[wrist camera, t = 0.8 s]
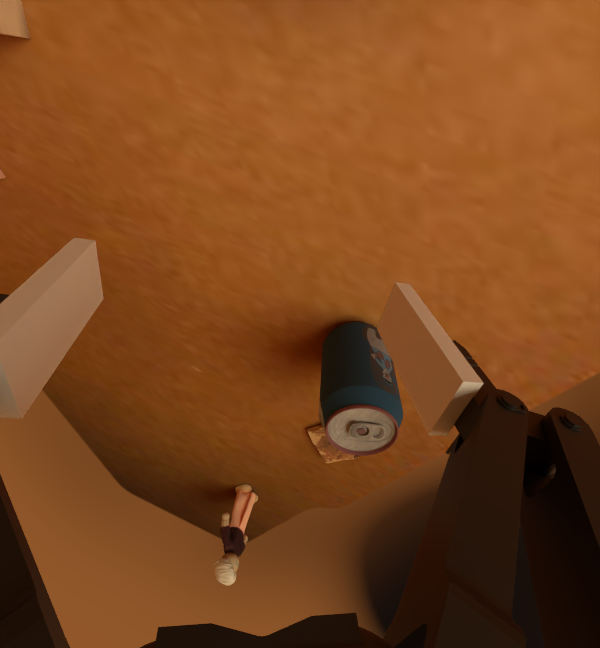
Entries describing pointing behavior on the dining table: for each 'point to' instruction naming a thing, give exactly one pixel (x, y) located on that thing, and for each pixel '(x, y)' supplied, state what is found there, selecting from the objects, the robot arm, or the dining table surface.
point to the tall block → (2, 175)
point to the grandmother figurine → (234, 534)
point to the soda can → (359, 391)
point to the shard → (327, 446)
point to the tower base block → (13, 19)
